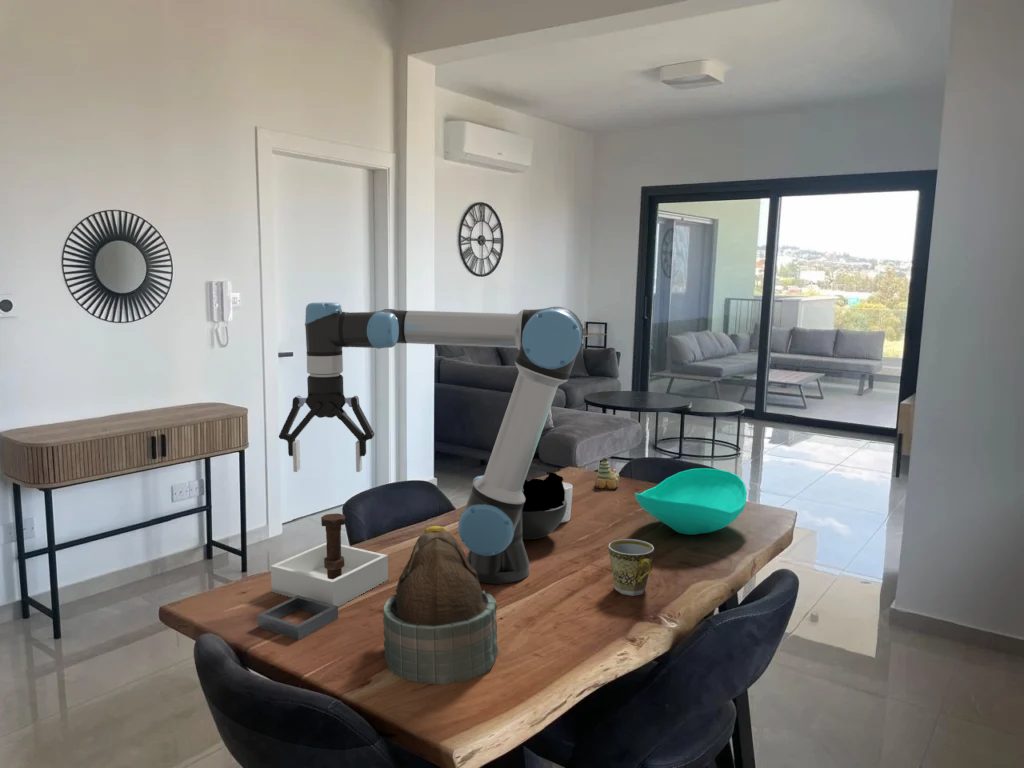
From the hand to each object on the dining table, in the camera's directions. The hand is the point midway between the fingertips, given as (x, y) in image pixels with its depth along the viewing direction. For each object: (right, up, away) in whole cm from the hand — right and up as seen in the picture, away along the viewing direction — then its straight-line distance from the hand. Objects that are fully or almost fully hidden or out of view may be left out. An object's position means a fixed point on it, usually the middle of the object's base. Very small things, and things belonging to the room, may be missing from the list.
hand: (328, 470), depth 167 cm
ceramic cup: (+67, -27, +1) cm, 73 cm away
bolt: (+1, -25, +4) cm, 26 cm away
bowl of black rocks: (+45, -22, +37) cm, 62 cm away
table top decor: (+89, -22, +43) cm, 101 cm away
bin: (0, -26, +4) cm, 27 cm away
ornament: (+72, -16, +86) cm, 113 cm away
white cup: (+54, -20, +52) cm, 77 cm away
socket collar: (-2, -29, -14) cm, 32 cm away
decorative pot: (+27, -31, -25) cm, 48 cm away
